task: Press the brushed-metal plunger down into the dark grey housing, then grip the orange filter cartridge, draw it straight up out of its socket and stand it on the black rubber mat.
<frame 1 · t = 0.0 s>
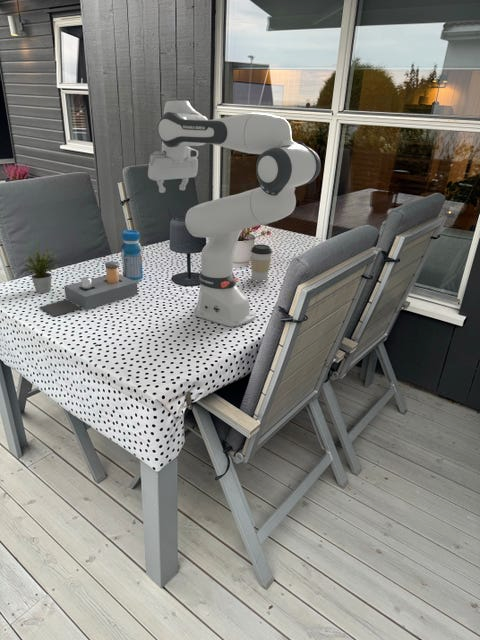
hand: (172, 191, 161), 39 cm above the table, tool pointing down, fingers open, 8 cm apart
plunger: (86, 285, 163), point 6 cm above the table, slide at 0.0 cm
coffee cup: (259, 279, 196), on the table
housing: (102, 296, 169), on the table
beverage bottle: (133, 279, 188), on the table
house plant: (43, 292, 170), on the table
mat: (60, 308, 158), on the table
cartridge: (113, 293, 173), resting in housing
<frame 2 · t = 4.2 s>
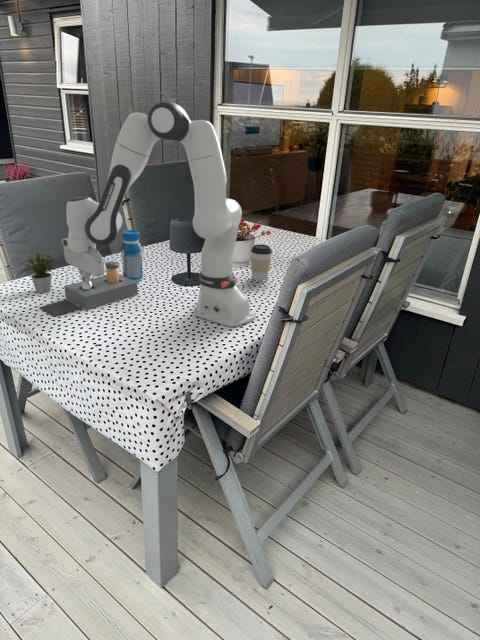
hand: (85, 281, 162), 7 cm above the table, tool pointing down, fingers closed, pressing on plunger
plunger: (87, 288, 163), point 5 cm above the table, slide at 1.1 cm, touching gripper
everything else where it was.
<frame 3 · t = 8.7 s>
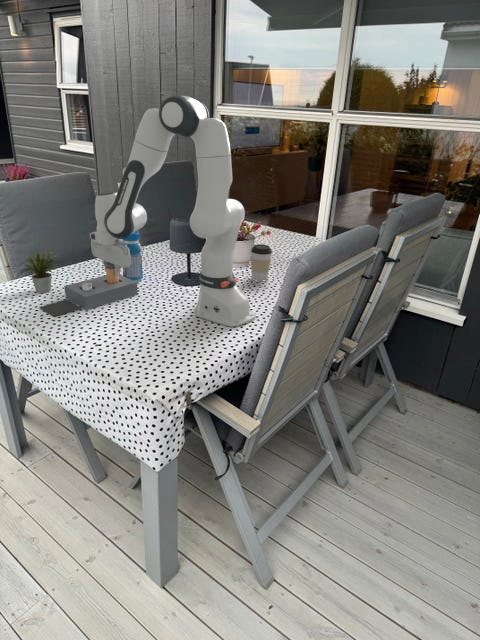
hand: (112, 273, 169), 8 cm above the table, tool pointing down, fingers closed on cartridge, 4 cm apart
plunger: (87, 291, 164), point 4 cm above the table, slide at 2.1 cm
cartridge: (113, 293, 173), resting in housing, touching gripper
everything else where it was.
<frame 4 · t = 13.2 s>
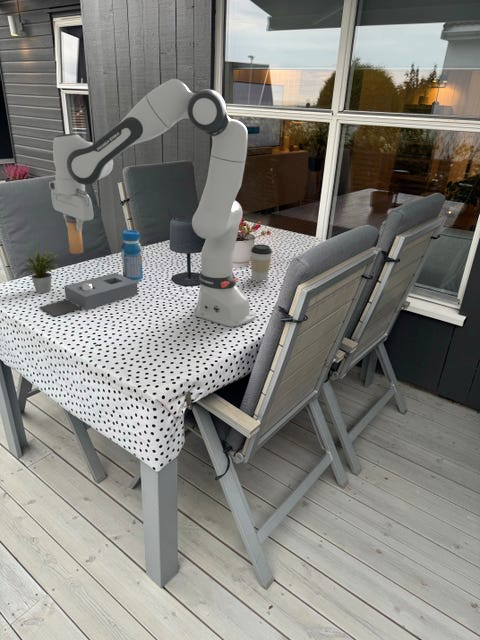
hand: (74, 228, 152), 27 cm above the table, tool pointing down, fingers closed on cartridge, 4 cm apart
cartridge: (76, 251, 156), point 19 cm above the table, touching gripper
everything else where it was.
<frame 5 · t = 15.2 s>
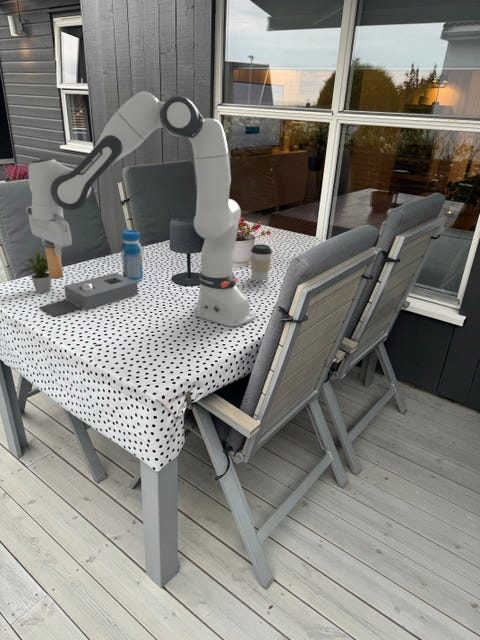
hand: (53, 253, 149), 20 cm above the table, tool pointing down, fingers closed on cartridge, 4 cm apart
cartridge: (56, 276, 153), point 12 cm above the table, touching gripper
everything else where it was.
when the fingers open (10 cm above the table, at t = 17.3 s): cartridge drops 1 cm, resting on mat.
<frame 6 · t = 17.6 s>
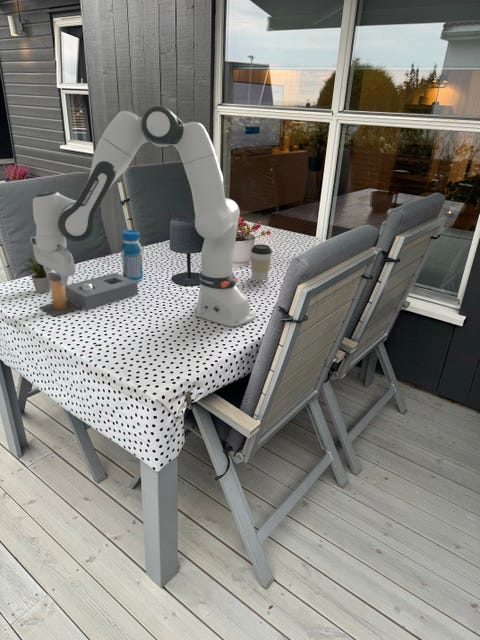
hand: (57, 281, 153), 10 cm above the table, tool pointing down, fingers open, 7 cm apart
cartridge: (60, 307, 157), point 1 cm above the table, touching mat
everything else where it was.
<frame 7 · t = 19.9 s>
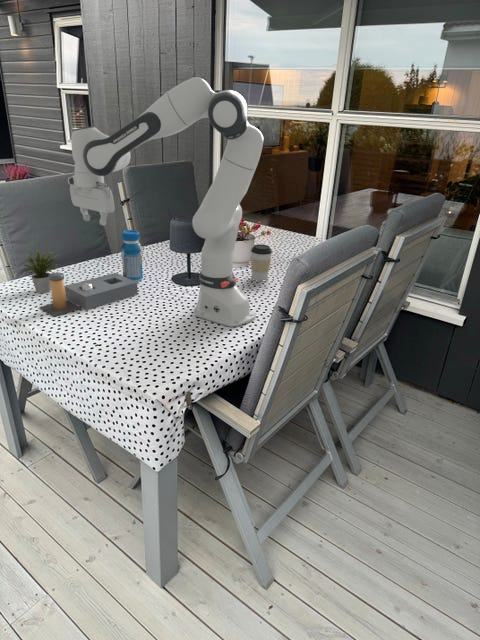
hand: (95, 222, 153), 29 cm above the table, tool pointing down, fingers open, 8 cm apart
nothing on the table moved.
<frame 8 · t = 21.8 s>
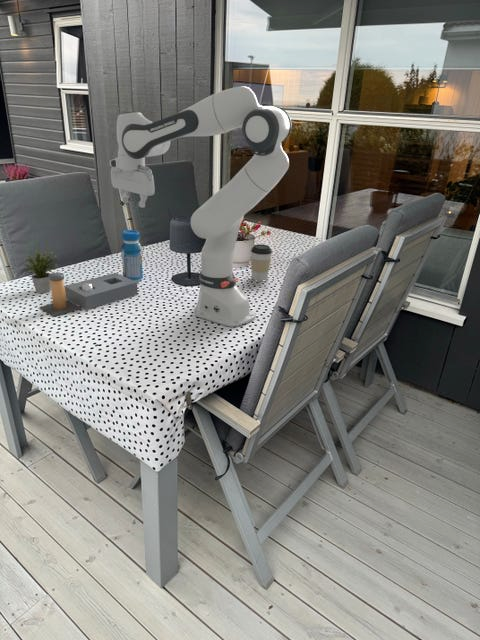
hand: (133, 204, 159), 34 cm above the table, tool pointing down, fingers open, 8 cm apart
nothing on the table moved.
at the end: plunger slide at 2.1 cm; cartridge inside the target area on the mat (0.0 cm from its centre), point 0.5 cm above the mat's base; cartridge tilted 0° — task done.
